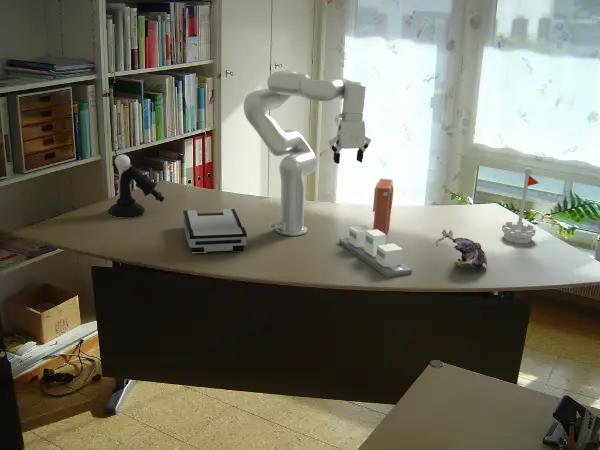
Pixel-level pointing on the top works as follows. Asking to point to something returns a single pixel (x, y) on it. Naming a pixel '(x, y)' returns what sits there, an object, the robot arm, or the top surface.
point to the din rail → (394, 268)
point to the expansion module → (373, 241)
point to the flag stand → (520, 231)
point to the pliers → (446, 236)
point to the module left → (358, 235)
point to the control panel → (383, 205)
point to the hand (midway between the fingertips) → (347, 162)
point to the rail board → (374, 260)
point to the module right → (389, 255)
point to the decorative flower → (470, 252)
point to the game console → (214, 231)
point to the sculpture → (126, 202)
